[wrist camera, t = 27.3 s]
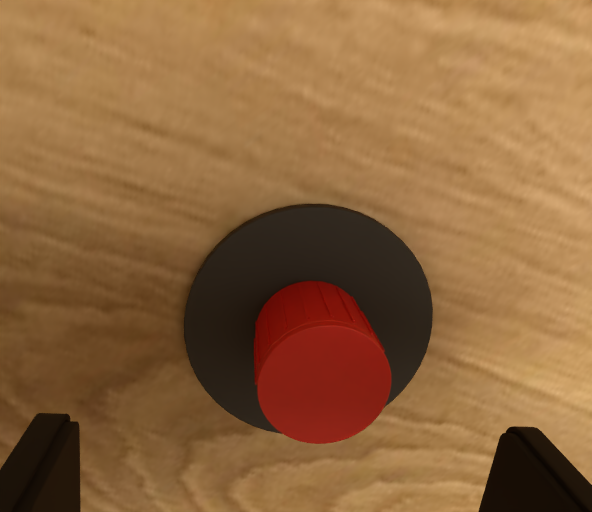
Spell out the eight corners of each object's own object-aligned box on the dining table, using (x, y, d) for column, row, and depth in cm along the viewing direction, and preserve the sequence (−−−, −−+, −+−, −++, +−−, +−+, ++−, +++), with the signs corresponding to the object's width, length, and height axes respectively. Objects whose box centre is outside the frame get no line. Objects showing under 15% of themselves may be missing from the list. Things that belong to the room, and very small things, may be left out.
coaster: (131, 311, 17) (128, 317, 16) (334, 148, 16) (337, 150, 15) (289, 466, 19) (290, 475, 19) (471, 335, 18) (477, 341, 18)
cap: (249, 377, 17) (249, 443, 14) (259, 273, 16) (263, 318, 13) (354, 382, 18) (380, 448, 14) (372, 283, 17) (404, 328, 13)
